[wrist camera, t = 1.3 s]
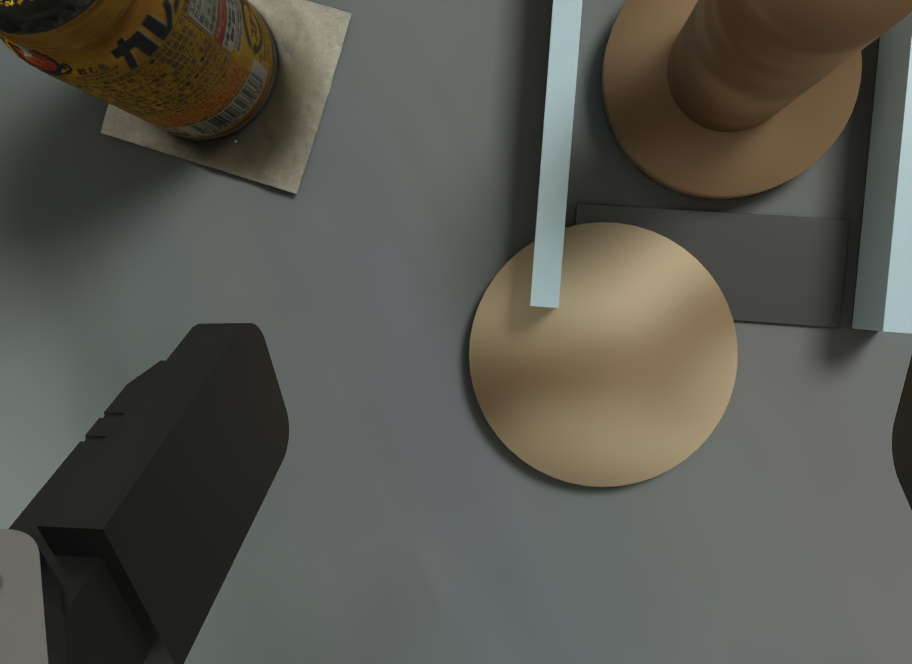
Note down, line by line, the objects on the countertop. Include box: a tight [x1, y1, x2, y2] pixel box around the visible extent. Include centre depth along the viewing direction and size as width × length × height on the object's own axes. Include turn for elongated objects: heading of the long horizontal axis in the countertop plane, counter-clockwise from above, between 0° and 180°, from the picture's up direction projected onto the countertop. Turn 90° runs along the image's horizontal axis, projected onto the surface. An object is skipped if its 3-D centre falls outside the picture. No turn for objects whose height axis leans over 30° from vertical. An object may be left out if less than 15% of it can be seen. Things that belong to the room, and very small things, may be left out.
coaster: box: [469, 222, 738, 487], centre depth 29 cm, size 10×10×1 cm
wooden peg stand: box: [601, 0, 912, 200], centre depth 23 cm, size 9×9×11 cm
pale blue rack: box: [530, 0, 912, 333], centre depth 28 cm, size 14×13×2 cm
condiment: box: [0, 0, 352, 194], centre depth 25 cm, size 7×8×12 cm
